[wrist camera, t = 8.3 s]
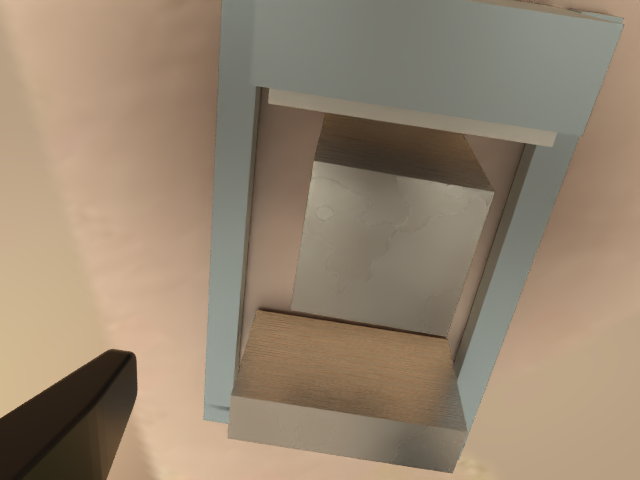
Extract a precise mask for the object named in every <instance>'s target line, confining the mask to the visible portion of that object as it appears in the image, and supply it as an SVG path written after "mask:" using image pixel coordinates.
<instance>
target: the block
mask: <svg viewBox="0 0 640 480" xmlns="http://www.w3.org/2000/svg"><path fill="white" fill-rule="evenodd" d="M494 193H495V192H494V190H493V188H492V186H491V184H490V183H489V181H488V179H487V177H486V175H485V174H484V172H483V170H482V168H481V166H480V165H479V163H478V161H477V159H476V157H475V156H474V154H473V152H472V150H471V148H470V147H469V145H468V143H467V141H466V139H465V138H464V136H463V134H462V133H457V132H450V131H444V130H437V129H431V128H424V127H418V126H411V125H405V124H398V123H392V122H385V121H379V120H372V119H366V118H359V117H353V116H346V115H339V114H333V113H326V115H325V119H324V123H323V127H322V130H321V134H320V138H319V142H318V146H317V150H316V154H315V158H314V163H313V169H312V175H311V182H310V188H309V194H308V201H307V207H306V213H305V220H304V226H303V232H302V239H301V245H300V252H299V258H298V264H297V271H296V277H295V283H294V290H293V296H292V302H291V309H290V310H294V311H299V312H305V313H311V314H317V315H323V316H328V317H334V318H340V319H346V320H352V321H358V322H363V323H369V324H375V325H381V326H387V327H393V328H398V329H404V330H410V331H416V332H422V333H427V334H433V335H439V336H445V337H447V334H448V331H449V328H450V325H451V322H452V319H453V316H454V313H455V310H456V307H457V304H458V301H459V298H460V295H461V292H462V289H463V286H464V283H465V280H466V277H467V274H468V271H469V268H470V265H471V262H472V259H473V256H474V253H475V250H476V247H477V244H478V241H479V238H480V235H481V232H482V229H483V226H484V223H485V220H486V217H487V214H488V211H489V208H490V205H491V202H492V199H493V196H494Z"/></svg>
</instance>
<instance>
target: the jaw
mask: <svg viewBox="0 0 640 480" xmlns="http://www.w3.org/2000/svg"><path fill="white" fill-rule="evenodd" d="M467 433H468V430H467V426H466V421H465V416H464V412H463V407H462V402H461V398H460V393H459V388H458V384H457V379H456V374H455V370H454V365H453V360H452V356H451V351H450V346H449V342H448V340H447V339H441V338H434V337H428V336H422V335H415V334H409V333H402V332H396V331H389V330H383V329H376V328H370V327H364V326H357V325H351V324H344V323H338V322H331V321H325V320H318V319H312V318H306V317H299V316H293V315H286V314H280V313H273V312H267V311H261V310H257V312H256V315H255V318H254V322H253V325H252V328H251V331H250V335H249V338H248V341H247V344H246V348H245V351H244V354H243V357H242V361H241V364H240V367H239V370H238V374H237V377H236V380H235V383H234V387H233V390H232V393H231V400H230V413H229V426H228V438H229V439H235V440H242V441H248V442H255V443H261V444H267V445H274V446H280V447H287V448H293V449H299V450H306V451H312V452H319V453H325V454H331V455H338V456H344V457H351V458H357V459H363V460H370V461H376V462H383V463H389V464H395V465H402V466H408V467H415V468H421V469H427V470H434V471H440V472H447V473H453V471H454V468H455V466H456V463H457V460H458V458H459V455H460V452H461V449H462V447H463V444H464V441H465V439H466V436H467Z"/></svg>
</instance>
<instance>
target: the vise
mask: <svg viewBox="0 0 640 480" xmlns="http://www.w3.org/2000/svg"><path fill="white" fill-rule="evenodd" d="M623 19H624V18H621V17H617V16H613V15H608V14H602V13H595V12H589V11H582V10H576V9H570V10H566V9H562V8H559V7H555V6H549V5H543V4H536V3H530V2H523V1H517V0H222V7H221V30H220V53H219V76H218V98H217V121H216V144H215V167H214V190H213V213H212V235H211V258H210V281H209V304H208V327H207V350H206V373H205V395H204V418H203V420H207V421H213V422H220V423H226V424H229V413H230V400H231V393H232V390H233V387H234V383H235V380H236V377H237V374H238V366H239V354H240V341H241V329H242V317H243V304H244V292H245V280H246V267H247V255H248V243H249V230H250V218H251V206H252V194H253V181H254V169H255V157H256V144H257V132H258V120H259V107H260V95H261V87H265V88H269V98H268V104H274V105H281V106H287V107H294V108H300V109H307V110H313V111H320V112H326V113H333V114H339V115H346V116H353V117H359V118H366V119H372V120H379V121H385V122H392V123H398V124H405V125H411V126H418V127H424V128H431V129H437V130H444V131H450V132H457V133H463V134H470V135H476V136H483V137H489V138H496V139H502V140H509V141H515V142H522V143H526V144H525V147H524V150H523V153H522V156H521V160H520V163H519V166H518V169H517V172H516V175H515V178H514V181H513V184H512V187H511V190H510V193H509V196H508V199H507V202H506V205H505V209H504V212H503V215H502V218H501V221H500V224H499V227H498V230H497V233H496V236H495V239H494V242H493V245H492V248H491V251H490V254H489V258H488V261H487V264H486V267H485V270H484V273H483V276H482V279H481V282H480V285H479V288H478V291H477V294H476V297H475V300H474V303H473V306H472V310H471V313H470V316H469V319H468V322H467V325H466V328H465V331H464V334H463V337H462V340H461V343H460V346H459V349H458V352H457V355H456V359H455V362H454V370H455V374H456V379H457V384H458V388H459V393H460V398H461V402H462V407H463V412H464V416H465V421H466V426H467V430H468V433H467V436H466V439H465V441H464V444H463V447H462V449H461V452H460V455H459V458H460V456H461V453H462V450H463V448H464V445H465V442H466V440H467V437H468V434H469V432H470V429H471V426H472V424H473V421H474V418H475V415H476V412H477V410H478V407H479V405H480V402H481V399H482V397H483V394H484V391H485V389H486V386H487V383H488V381H489V378H490V375H491V373H492V370H493V367H494V365H495V362H496V359H497V357H498V354H499V351H500V349H501V346H502V343H503V341H504V338H505V335H506V332H507V330H508V327H509V324H510V322H511V319H512V316H513V314H514V311H515V308H516V306H517V303H518V300H519V298H520V295H521V292H522V290H523V287H524V284H525V282H526V279H527V276H528V274H529V271H530V268H531V266H532V263H533V260H534V258H535V255H536V252H537V249H538V247H539V244H540V241H541V239H542V236H543V233H544V231H545V228H546V225H547V223H548V220H549V217H550V215H551V212H552V209H553V207H554V204H555V201H556V199H557V196H558V193H559V191H560V188H561V185H562V183H563V180H564V177H565V174H566V172H567V169H568V166H569V164H570V161H571V158H572V156H573V153H574V150H575V148H576V145H577V142H578V140H579V137H580V136H583V133H584V131H585V128H586V125H587V123H588V120H589V117H590V115H591V112H592V109H593V107H594V104H595V101H596V99H597V96H598V93H599V91H600V88H601V85H602V83H603V80H604V77H605V75H606V72H607V69H608V67H609V64H610V61H611V59H612V56H613V53H614V51H615V48H616V45H617V43H618V40H619V37H620V35H621V32H622V29H623V27H624V24H622V22H623ZM459 458H458V460H459Z"/></svg>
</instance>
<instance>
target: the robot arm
mask: <svg viewBox="0 0 640 480" xmlns="http://www.w3.org/2000/svg"><path fill="white" fill-rule="evenodd" d="M136 396H137V361H136V356H135V354H134V353H133V352H130V351H123V350H117V349H110V350H108V351H106V352H104V353H103V354H101V355H99V356H98V357H96V358H95V359H93V360H92V361H90V362H88V363H87V364H85V365H84V366H82V367H80V368H79V369H77V370H76V371H74V372H73V373H71V374H70V375H68V376H66V377H65V378H63V379H62V380H60V381H58V382H57V383H55V384H54V385H52V386H51V387H49V388H47V389H46V390H44V391H43V392H41V393H40V394H38V395H36V396H35V397H33V398H32V399H30V400H28V401H27V402H25V403H24V404H22V405H21V406H19V407H17V408H16V409H15V410H13V411H11V412H10V413H8V414H6V415H5V416H3V417H2V418H0V480H106V479H107V477H108V474H109V471H110V468H111V466H112V463H113V460H114V458H115V455H116V452H117V449H118V447H119V444H120V441H121V438H122V436H123V433H124V431H125V428H126V425H127V423H128V420H129V417H130V414H131V412H132V409H133V406H134V403H135V400H136Z"/></svg>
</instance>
